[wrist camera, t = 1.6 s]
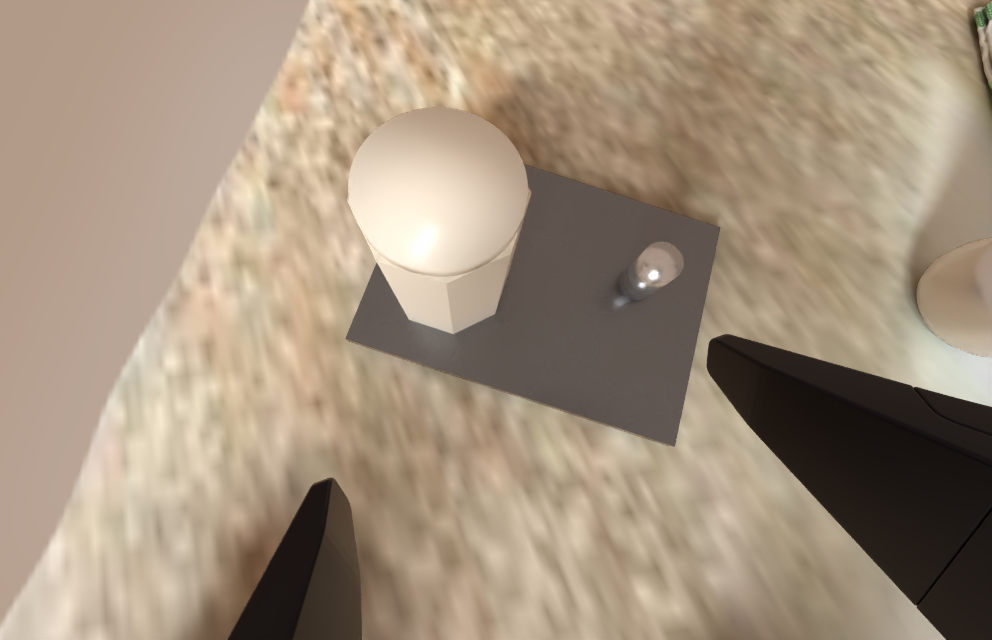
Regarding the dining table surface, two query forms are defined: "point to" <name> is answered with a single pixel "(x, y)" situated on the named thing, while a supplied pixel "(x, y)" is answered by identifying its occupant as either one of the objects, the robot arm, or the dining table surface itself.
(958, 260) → the plastic bottle
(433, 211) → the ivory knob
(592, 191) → the plate
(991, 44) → the dish towel
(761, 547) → the dining table surface
